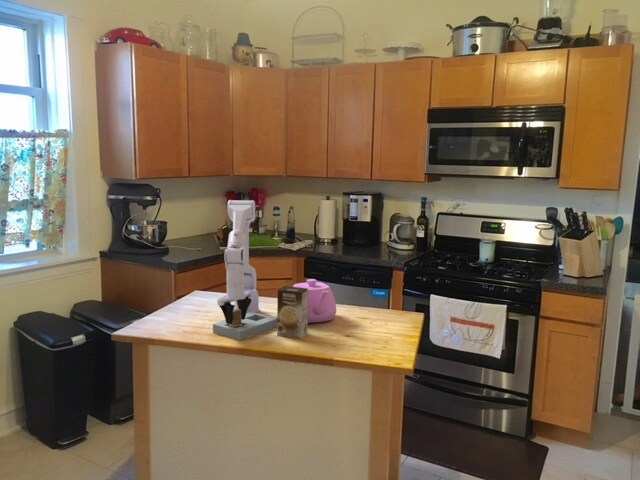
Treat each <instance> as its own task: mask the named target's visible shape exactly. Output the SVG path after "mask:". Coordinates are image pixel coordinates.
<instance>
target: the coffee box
mask: <svg viewBox="0 0 640 480" xmlns="http://www.w3.org/2000/svg"><path fill="white" fill-rule="evenodd" d="M307 308H308V289H307V288H299V287H293V286H291V285H290V286H289V285H284V286H281V287H280V288H279V289H278V290H277V307H276V309H277V311H276V312H277V314H276V315H277V317H276V318H277V327H276V328H277V329H276V336H281V337H288V338H295V339H303V337H304V336H306V335H307V334H308V324H307Z"/></svg>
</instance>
